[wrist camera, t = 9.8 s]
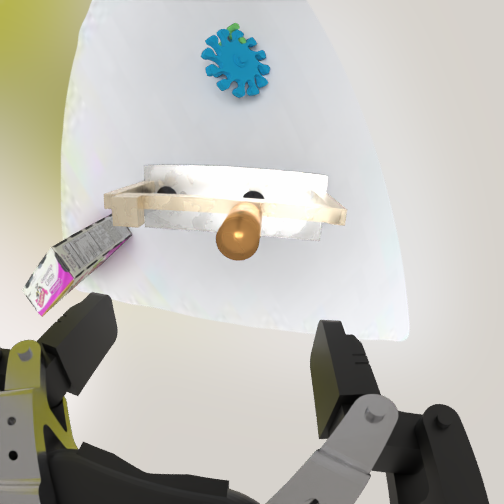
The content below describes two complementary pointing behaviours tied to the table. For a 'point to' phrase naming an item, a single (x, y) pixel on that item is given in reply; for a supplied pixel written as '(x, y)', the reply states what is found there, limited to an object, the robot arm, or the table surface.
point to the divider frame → (226, 199)
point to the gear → (236, 61)
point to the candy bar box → (73, 262)
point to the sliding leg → (241, 229)
